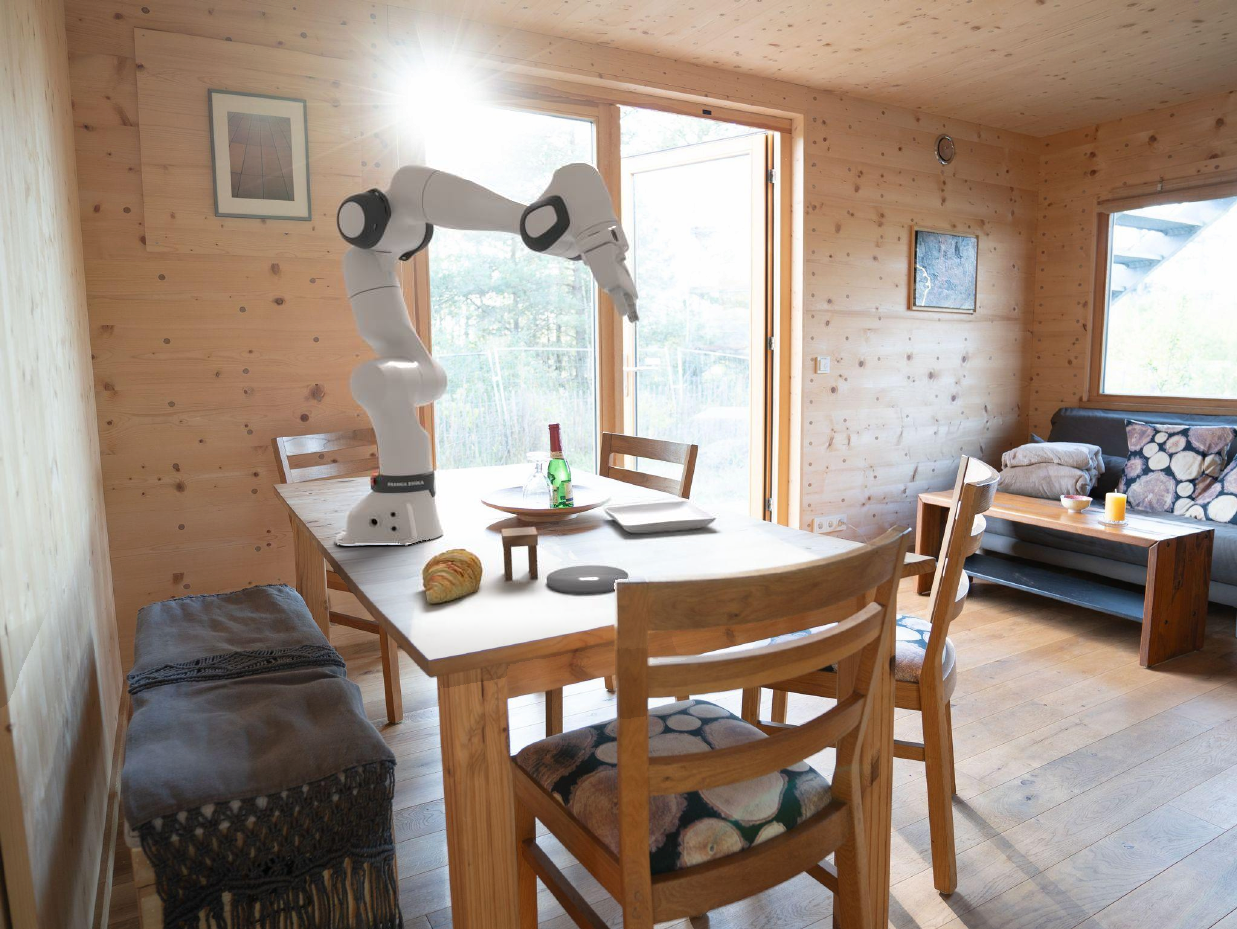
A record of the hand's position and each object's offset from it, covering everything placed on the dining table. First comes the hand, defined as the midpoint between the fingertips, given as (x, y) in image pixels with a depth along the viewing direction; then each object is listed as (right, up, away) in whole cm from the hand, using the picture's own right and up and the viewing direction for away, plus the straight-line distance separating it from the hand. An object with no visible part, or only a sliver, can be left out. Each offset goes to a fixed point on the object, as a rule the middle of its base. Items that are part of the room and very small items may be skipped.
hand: (630, 318), depth 146 cm
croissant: (-30, -48, -9) cm, 57 cm away
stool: (-20, -46, -2) cm, 50 cm away
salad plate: (+7, -41, +38) cm, 56 cm away
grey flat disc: (-7, -47, -7) cm, 48 cm away
